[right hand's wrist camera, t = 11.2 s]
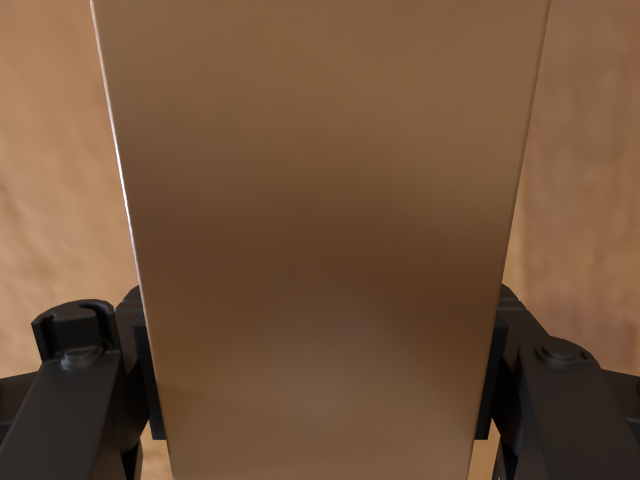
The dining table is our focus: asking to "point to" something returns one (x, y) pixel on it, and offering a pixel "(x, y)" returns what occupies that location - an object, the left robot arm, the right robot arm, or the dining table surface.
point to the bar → (320, 222)
